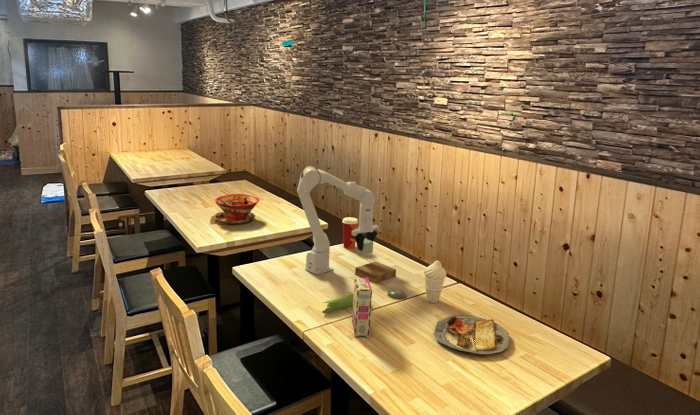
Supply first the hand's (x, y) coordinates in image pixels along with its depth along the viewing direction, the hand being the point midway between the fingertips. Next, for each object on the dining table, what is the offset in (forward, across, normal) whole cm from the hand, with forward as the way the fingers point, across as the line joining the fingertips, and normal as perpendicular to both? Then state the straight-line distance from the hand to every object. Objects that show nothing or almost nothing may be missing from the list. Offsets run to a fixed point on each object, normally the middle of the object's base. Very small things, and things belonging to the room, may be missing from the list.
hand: (364, 248), depth 228 cm
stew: (+9, -5, +94) cm, 95 cm away
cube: (+2, 0, 0) cm, 2 cm away
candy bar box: (+9, -40, -38) cm, 56 cm away
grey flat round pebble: (+9, -10, -28) cm, 31 cm away
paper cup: (+9, +15, +24) cm, 30 cm away
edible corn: (+9, -33, -22) cm, 41 cm away
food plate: (+10, -16, -65) cm, 68 cm away
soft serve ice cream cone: (+9, -3, -40) cm, 41 cm away
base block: (+9, -2, -9) cm, 13 cm away
